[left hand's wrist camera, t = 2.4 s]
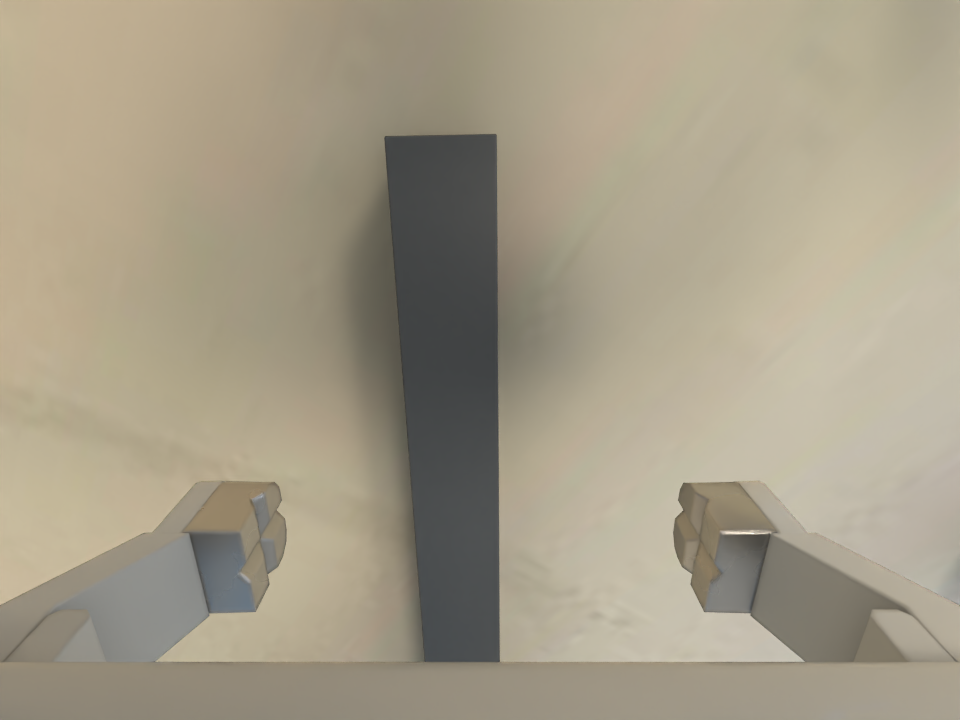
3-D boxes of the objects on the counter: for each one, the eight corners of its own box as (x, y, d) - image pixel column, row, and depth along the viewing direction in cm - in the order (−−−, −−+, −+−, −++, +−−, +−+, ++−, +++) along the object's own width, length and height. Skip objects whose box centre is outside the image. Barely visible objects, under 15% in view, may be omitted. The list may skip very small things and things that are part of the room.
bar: (409, 140, 30) (384, 136, 23) (492, 139, 30) (496, 133, 23) (456, 908, 60) (452, 1022, 52) (499, 908, 60) (501, 1022, 52)
